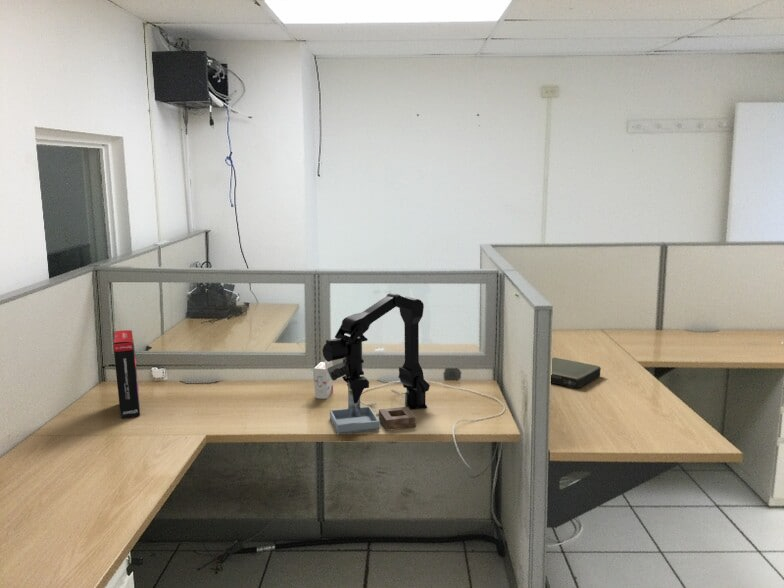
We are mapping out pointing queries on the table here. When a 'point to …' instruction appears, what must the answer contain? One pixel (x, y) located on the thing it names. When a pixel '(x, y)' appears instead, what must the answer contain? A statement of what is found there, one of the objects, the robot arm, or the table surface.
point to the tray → (354, 421)
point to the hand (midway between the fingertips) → (354, 400)
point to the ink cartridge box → (323, 380)
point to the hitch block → (397, 418)
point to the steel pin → (353, 405)
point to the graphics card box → (126, 373)
